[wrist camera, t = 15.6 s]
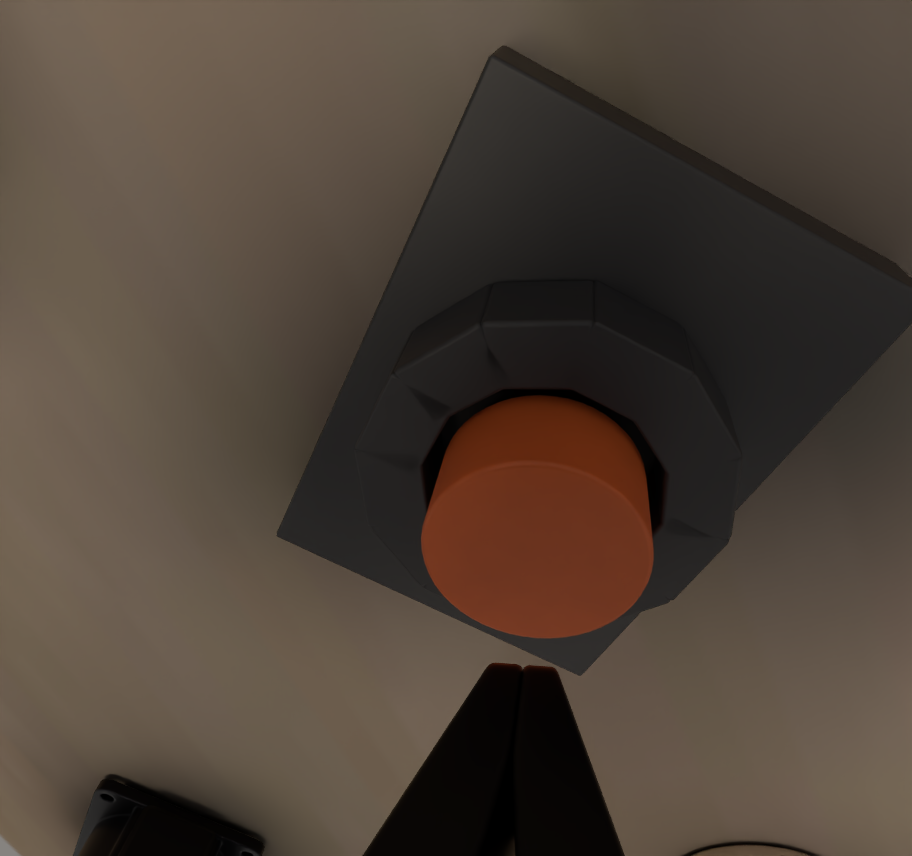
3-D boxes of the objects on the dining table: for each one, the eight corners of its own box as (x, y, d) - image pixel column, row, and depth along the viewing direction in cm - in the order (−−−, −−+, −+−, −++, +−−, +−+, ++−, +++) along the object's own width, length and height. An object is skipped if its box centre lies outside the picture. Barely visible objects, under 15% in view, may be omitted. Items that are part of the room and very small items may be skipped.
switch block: (581, 624, 19) (579, 744, 16) (299, 492, 18) (243, 592, 15) (898, 264, 13) (985, 349, 10) (502, 43, 12) (473, 66, 9)
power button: (578, 585, 14) (576, 670, 12) (412, 506, 14) (385, 582, 12) (688, 453, 12) (704, 532, 11) (497, 357, 12) (481, 422, 10)
